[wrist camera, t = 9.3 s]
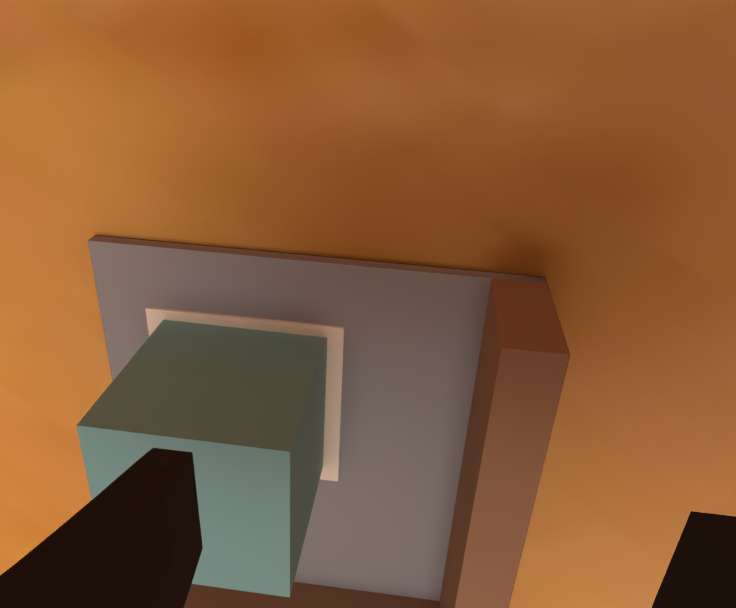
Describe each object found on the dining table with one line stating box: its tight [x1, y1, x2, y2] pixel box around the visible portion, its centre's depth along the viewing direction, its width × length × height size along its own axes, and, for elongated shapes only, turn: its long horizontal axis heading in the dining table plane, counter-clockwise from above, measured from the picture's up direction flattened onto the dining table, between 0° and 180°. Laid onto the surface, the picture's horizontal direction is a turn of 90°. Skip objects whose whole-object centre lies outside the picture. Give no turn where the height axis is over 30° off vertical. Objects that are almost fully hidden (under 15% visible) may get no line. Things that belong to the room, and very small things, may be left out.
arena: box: [88, 235, 570, 608], centre depth 20 cm, size 13×15×4 cm
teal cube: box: [77, 320, 327, 597], centre depth 18 cm, size 5×5×5 cm
